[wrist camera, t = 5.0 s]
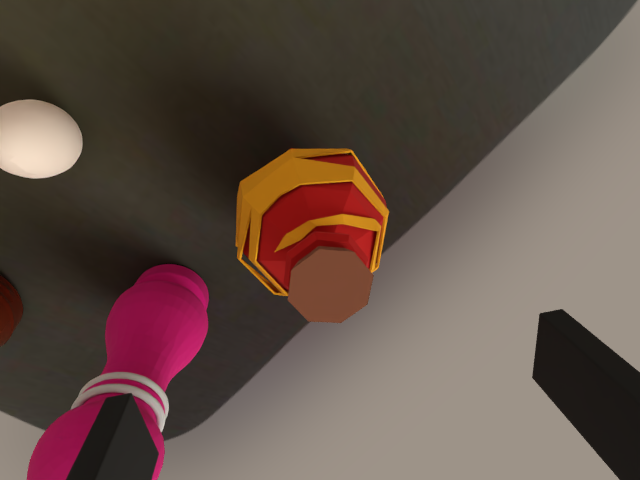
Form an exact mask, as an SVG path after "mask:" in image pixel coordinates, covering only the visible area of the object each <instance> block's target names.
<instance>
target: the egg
mask: <svg viewBox="0 0 640 480" xmlns="http://www.w3.org/2000/svg"><path fill="white" fill-rule="evenodd" d="M82 146H83V142H82V134H81V131H80V129H79V127H78V125H77V123H76V122H75V121H74V120H73V118H72V117H71V116H70V115H69V114H68V113H66V112H65V111H64V110H63V109H61V108H59V107H57V106H55V105H53V104H50V103H47V102H44V101H40V100H32V99H28V100H18V101H14V102H10V103H6V104H4V105H2V106H1V107H0V168H1V169H2V170H4V171H6V172H9V173H11V174H14V175H18V176H22V177H27V178H34V179H36V178H47V177H51V176H55V175H58V174H60V173H62V172H65V171H66V170H68V169H69V168H71V167H72V166H73V165H74V164H75V162H76V161H77V159H78V158H79V156H80V154H81V151H82Z"/></svg>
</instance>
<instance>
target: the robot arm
mask: <svg viewBox="0 0 640 480" xmlns="http://www.w3.org/2000/svg"><path fill="white" fill-rule="evenodd" d="M532 378H533V379H534V380H535V381H536V383H537V384H538V385H539V386H540V387H541V388H542V390H543V391H544V392H545V393H546V394H547V395H548V397H549V398H550V399H551V400H552V401H553V402H554V404H555V405H556V406H557V407H558V408H559V409H560V411H561V412H562V413H563V414H564V415H565V416H566V418H567V419H568V420H569V421H570V422H571V423H572V425H573V426H574V427H575V428H576V429H577V430H578V432H579V433H580V434H581V435H582V436H583V437H584V439H585V440H586V441H587V442H588V443H589V444H590V446H591V447H593V449H594V450H595V451H596V453H597V454H598V455H599V456H600V457H601V458H602V460H603V461H604V462H605V463H606V464H607V465H608V467H609V468H610V469H611V470H612V471H613V472H614V474H615V475H616V476H617V477H618V478H619V479H620V480H640V372H639V371H637V370H636V369H635V368H634V367H632V366H631V365H630V364H629V363H627V362H626V361H625V360H624V359H623V358H621V357H620V356H619V355H618V354H617V353H615V352H614V351H613V350H612V349H610V348H609V347H608V346H607V345H605V344H604V343H603V342H601V340H599V339H598V338H597V337H595V336H594V335H593V334H592V333H591V332H590V331H588V330H587V329H586V328H585V327H583V326H582V325H581V324H580V323H579V322H577V321H576V320H575V319H574V318H572V317H571V316H570V315H569V314H567V313H566V312H565V311H564V310H562V309H560V310H555V311H550V312H545V313H540V315H539V325H538V333H537V341H536V351H535V359H534V368H533V376H532ZM158 456H159V452H158V450H157V448H156V446H155V443H154V441H153V439H152V437H151V435H150V432H149V430H148V428H147V426H146V424H145V421H144V419H143V417H142V415H141V413H140V410H139V408H138V406H137V404H136V402H135V399H134V397H133V395H132V393H127V394H122V395H117V396H112V397H107V398H106V399H105V401H104V403H103V405H102V407H101V409H100V411H99V413H98V415H97V417H96V419H95V421H94V423H93V425H92V427H91V429H90V431H89V433H88V435H87V437H86V439H85V441H84V443H83V445H82V447H81V450H80V452H79V454H78V456H77V458H76V460H75V462H74V464H73V466H72V468H71V470H70V472H69V474H68V476H67V478H66V480H152V477H153V473H154V470H155V466H156V463H157V459H158Z"/></svg>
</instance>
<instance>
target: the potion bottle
mask: <svg viewBox="0 0 640 480" xmlns="http://www.w3.org/2000/svg"><path fill="white" fill-rule="evenodd" d="M342 153H347V154H348V155H347V154H342ZM388 214H389V211H388V209H387V206H386V201H385V199H384V198H383V195H382V194H381V192H380V191H379V189H378V188H377V187H376V185H375V184H374V182H373V181H372V179H371V178H370V176H369V175H368V173H367V172H366V170H365V169H364V167H363V166H362V164H361V163H360V161H359V160H358V158H357V157H356V155H355V154H354V152H353V151H352V150H349V149H294V148H291V149H289V150H288V151H287V152H285V153H284V154H282V155H281V156H279V157H278V158H276V159H275V160H273V161H272V162H270V163H269V164H267V165H265V166H264V167H262V168H261V169H259V170H258V171H256V172H255V173H253V174H251V175H250V176H248V177H247V178H245V179H244V180H242V181H241V182H240V185H239V190H238V194H237V219H236V246H237V247H238V253H237V258H238V260H239V261H240V262H241V263H242V264H243V265H245V266H246V267H247V268H248V269H249V270H250V271H251V272H252V273H253V274H254V275H255V276H256V277H257V278H258V279H259V280H260V281H261V282H262V283H263V284H264V285H265V286H266V287H267V288H268V289H269V290H270V291H271V292H272V293H273V294H274V295H285V296H288V301H289V302H290V303H291V304H292V305H293V306H294V307H295V308H296V309H297V310H298V311H299V312H300V313H301V314H302V315H303V316H304V317H305V318H306V319H307V320H308V321H310V322H333V323H342V322H343V321H344V320H346V319H347V318H348V317H350V316H352V315H353V314H354V313H356V312H357V311H359V310H360V309H362V308H363V307H364V306H366V305H367V304H368V299H369V295H370V290H371V285H372V281H373V274H372V272H374V271H375V270H376V269H378V268H379V262H380V257H381V252H382V246H383V241H384V236H385V230H386V225H387V219H388ZM242 253H244V254H245V255H246V256H247V257H248V258H249V260H250V261H251V262H252V263H253V264H254V265H255V266H256V267H257V268H258V269H259V270H260V271H261V272H262V273H263V274H264V275H265V276H266V277H267V278H268V279H269V280H270V281H271V282H272V283H273V284H274V285H275V286H276V287H275V286H273V285H272V284H271V283H270V282H269V281H267V280H266V279H265V278H264V277H263V276H261V275H260V274H259V273H258V272H257V271H255V270H254V269H253V268H252V267H251V266H249V265H248V264H247V263H246V262H245V261H244V260H242V259H241V257H242ZM376 263H377V265H376Z"/></svg>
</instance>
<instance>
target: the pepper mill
mask: <svg viewBox="0 0 640 480" xmlns="http://www.w3.org/2000/svg"><path fill="white" fill-rule="evenodd" d="M208 301H209V293H208V289H207V286H206V284H205V282H204V281H203V280H202V279H201V277H200V276H199V275H197V274H196V273H195V272H194V271H192V270H190V269H188V268H186V267H183V266H179V265H175V264H163V265H157V266H154V267H152V268H150V269H148V270H147V271H145V272H144V273H143V274H142V275H141V276H140V277H139V278H138V280H137V281H136V283H135V284H134V286H133V287H131V288H129V289H127V290H126V291H125V292H124V293H123V294H121V295H120V296H119V298H118V299H117V300H116V301H115V303H114V305H113V307H112V309H111V311H110V313H109V316H108V319H107V324H106V331H105V341H106V349H107V358H108V359H107V364H106V366H105V368H104V370H103V372H102V374H101V375H100V376H98V377H96V378H94V379H92V380H91V381H89V382H88V383H87V384H86V385H85V386H84V387H83V388H82V390H81V391H80V393H79V396H78V398H77V399H76V400H75V401H74V403H73V405H72V407H71V410H70V411H68V412H66V413H65V414H63V415H62V416H60V417H59V418H58V419H57V420H56V421H55V422H53V423H52V424H51V425H50V426H49V427H48V428H47V430H46V431H45V432H44V434H43V435H42V437H41V438H40V439H39V441H38V443H37V445H36V447H35V449H34V451H33V454H32V456H31V459H30V462H29V468H28V473H27V480H66V478H67V476H68V474H69V472H70V470H71V468H72V466H73V464H74V462H75V460H76V458H77V456H78V454H79V452H80V450H81V447H82V445H83V443H84V441H85V439H86V437H87V435H88V433H89V431H90V429H91V427H92V425H93V423H94V421H95V419H96V417H97V415H98V413H99V411H100V409H101V407H102V405H103V403H104V401H105V399H106V398H107V397H112V396H117V395H122V394H127V393H132V395H133V397H134V399H135V402H136V404H137V406H138V408H139V410H140V413H141V415H142V417H143V419H144V421H145V424H146V426H147V428H148V430H149V432H150V435H151V437H152V439H153V441H154V443H155V446H156V448H157V450H158V452H159V456H158V459H157V463H156V466H155V470H154V473H153V477H152V480H157V479H158V477H159V473H160V471H161V468H162V465H163V459H164V454H165V450H164V440H163V436H162V434H161V432H162V430H163V428H164V424H165V419H166V417H167V415H168V410H169V404H168V399H167V396H166V394H165V390H166V388H167V385H168V383H169V382H170V380H171V379H172V378H173V377H174V376H175V375H176V374H177V373H178V372H179V371H180V370H182V369H183V368H184V367H185V366H186V365H187V364H188V363H189V362H190V361H191V360H192V359H193V358H194V356H195V355H196V354H197V352H198V351H199V350H200V348H201V346H202V344H203V342H204V339H205V336H206V334H207V329H208V317H207V312H206V310H207V306H208Z"/></svg>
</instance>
